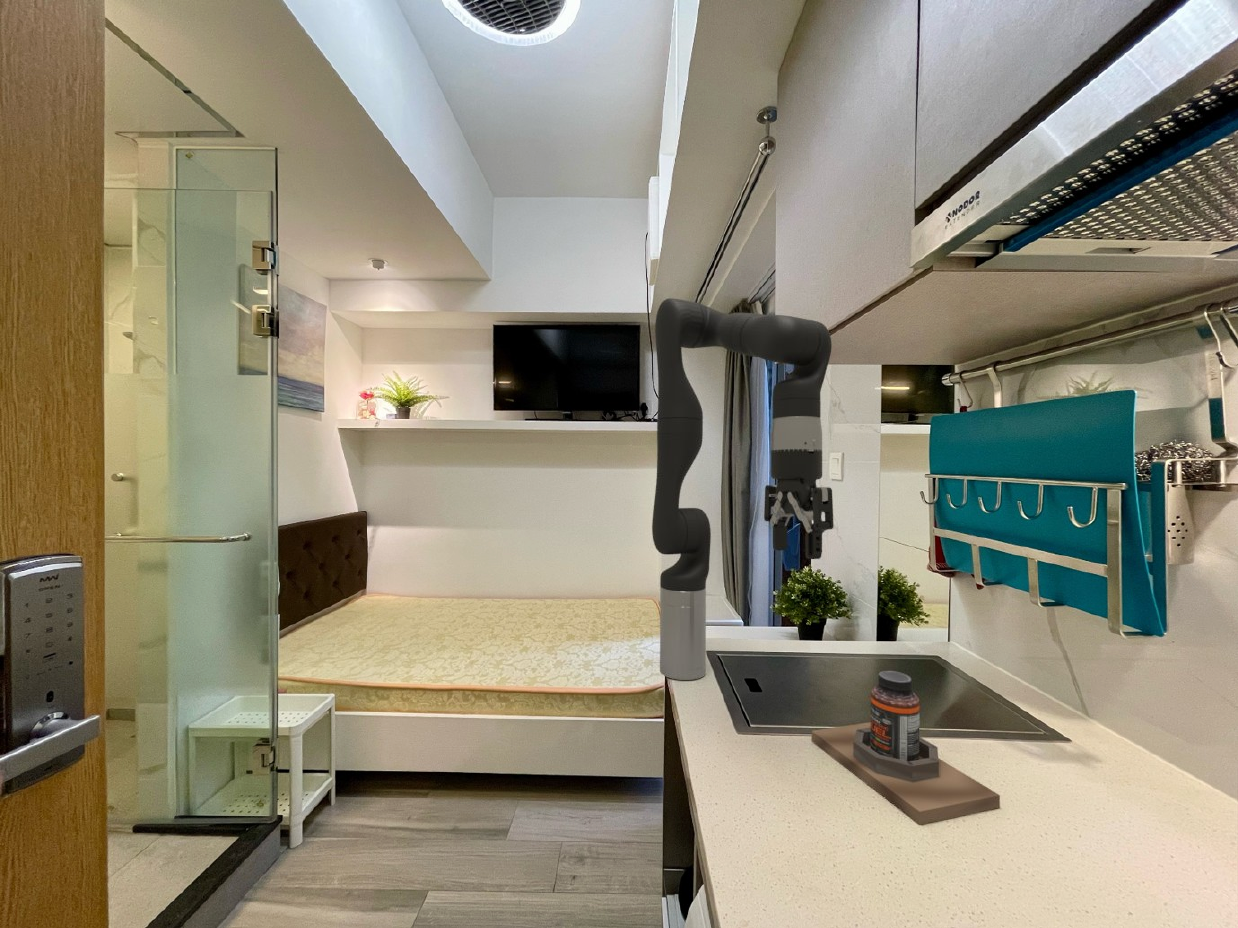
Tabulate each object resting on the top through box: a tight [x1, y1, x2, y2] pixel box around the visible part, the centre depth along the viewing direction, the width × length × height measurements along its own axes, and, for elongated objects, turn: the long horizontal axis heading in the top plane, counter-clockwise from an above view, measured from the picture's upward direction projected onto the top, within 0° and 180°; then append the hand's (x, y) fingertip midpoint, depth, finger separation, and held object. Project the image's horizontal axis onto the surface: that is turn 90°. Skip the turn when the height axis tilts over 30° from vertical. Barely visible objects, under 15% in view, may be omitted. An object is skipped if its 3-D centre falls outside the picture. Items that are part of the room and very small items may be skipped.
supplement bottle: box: [870, 670, 921, 762], centre depth 73 cm, size 6×6×11 cm
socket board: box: [811, 721, 1001, 826], centre depth 72 cm, size 20×12×4 cm, turn 16°
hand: (796, 554), depth 81 cm, fingers open, 8 cm apart
